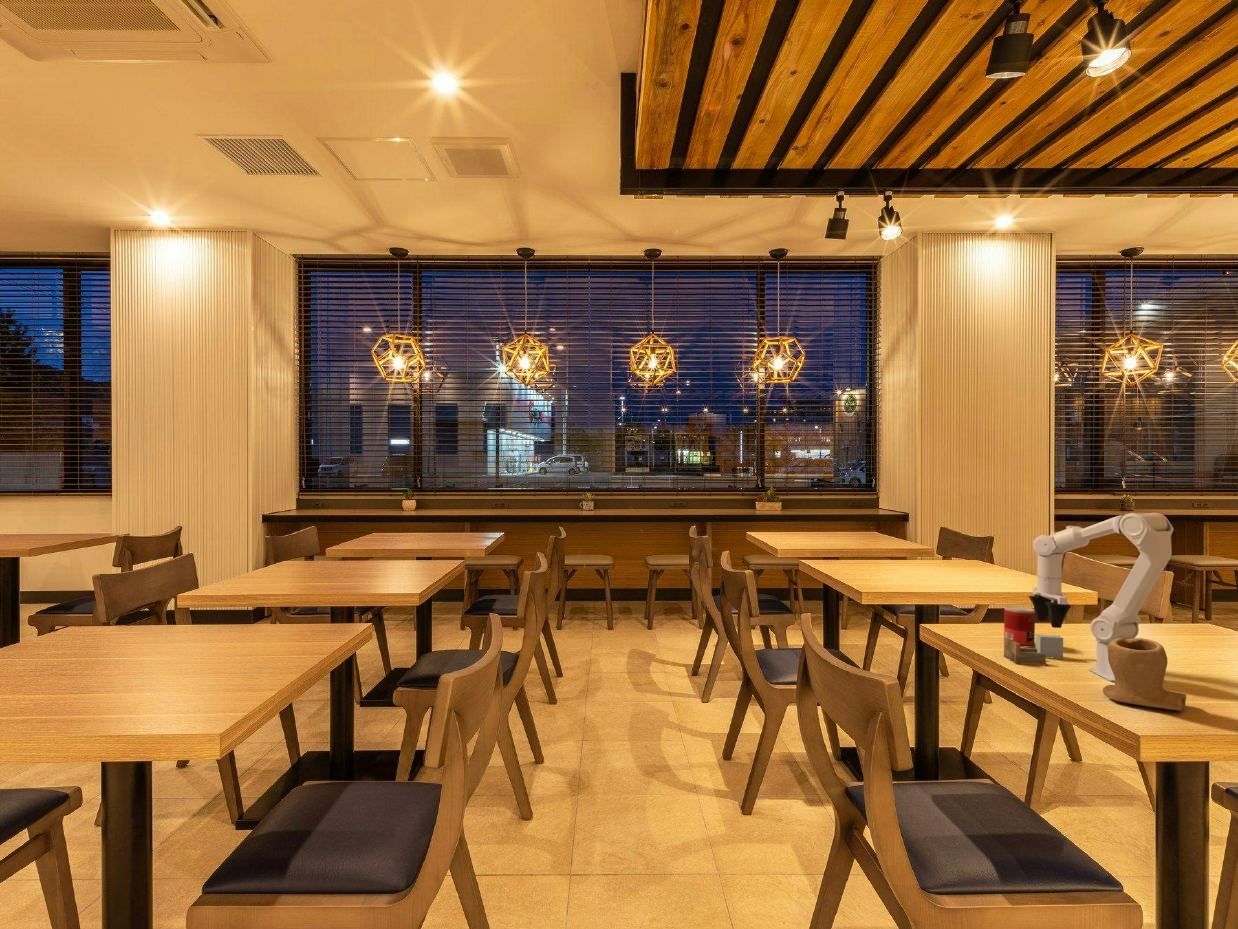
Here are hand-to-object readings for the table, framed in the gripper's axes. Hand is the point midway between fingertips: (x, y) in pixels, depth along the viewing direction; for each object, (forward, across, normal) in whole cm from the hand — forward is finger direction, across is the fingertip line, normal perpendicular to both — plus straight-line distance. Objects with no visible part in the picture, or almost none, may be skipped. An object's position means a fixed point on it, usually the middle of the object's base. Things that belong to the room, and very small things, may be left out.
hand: (1049, 624), depth 176 cm
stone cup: (+10, +36, +2) cm, 37 cm away
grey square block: (+10, 0, 0) cm, 10 cm away
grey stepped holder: (+9, +6, -9) cm, 14 cm away
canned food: (+10, -13, -2) cm, 16 cm away
